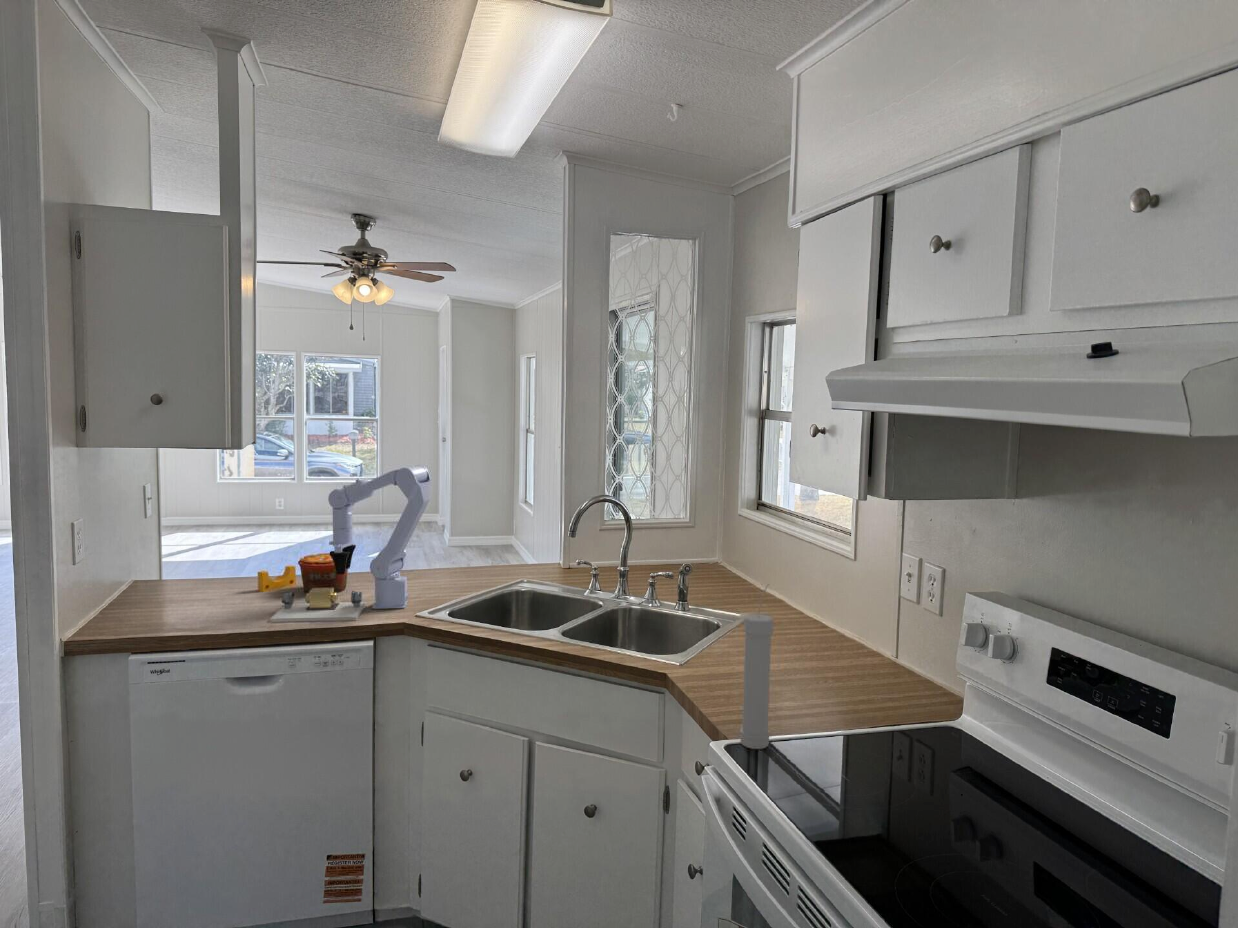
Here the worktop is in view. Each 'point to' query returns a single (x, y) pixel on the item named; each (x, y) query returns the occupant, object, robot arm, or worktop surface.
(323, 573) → the food container
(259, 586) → the pipe clamp
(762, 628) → the grey piece
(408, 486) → the robot arm
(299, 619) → the pipe board
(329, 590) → the brass valve
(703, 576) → the worktop surface
